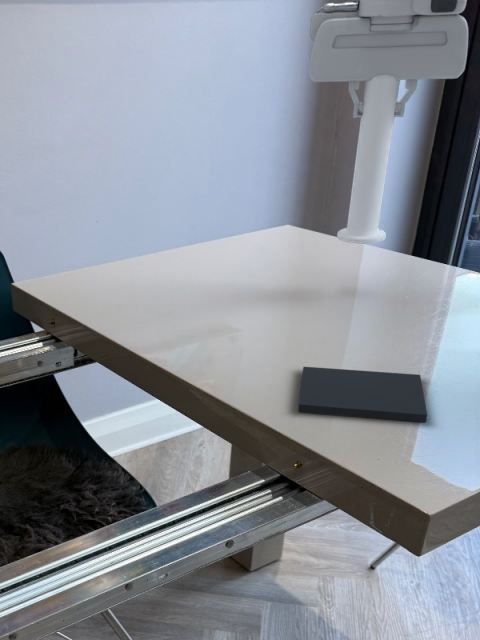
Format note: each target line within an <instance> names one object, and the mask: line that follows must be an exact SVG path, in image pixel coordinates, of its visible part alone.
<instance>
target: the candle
mask: <svg viewBox="0 0 480 640" xmlns="http://www.w3.org/2000/svg"><path fill="white" fill-rule="evenodd" d="M400 84H401V80H396V79H395V77H393V76H391V75H379V76H376V77H374V78H373V79H372V80H370V81H365V83H364V91H363V97H362V98H363V99H362V102H363V104H364V110H363V116H362V117H360V123H359V130H358V139H357V146H356V154H355V161H354V162H355V163H354V170H353V177H352V186H351V192H350V201H349V209H348V216H347V224H346V227H344V228H341V229H340V230H338V231H337V234H336V237H337V239H338V240H339V241H342V242H345V243H348V244H356V245H368V244H369V245H370V244H377V243H380V242H383V241H385V240H386V237H387V233H386V231H384V230H383V229H381V228H379V225H380V219H381V218H380V217H381V212H382V205H383V197H384V191H385V185H386V177H387V170H388V164H389V157H390V150H391V145H392V137H393V131H394V124H395V118H396V117H394V112H395V105H396V103H397V102H398V97H399V92H400V91H399V90H400Z"/></svg>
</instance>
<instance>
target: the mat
mask: <svg viewBox="0 0 480 640" xmlns="http://www.w3.org/2000/svg"><path fill="white" fill-rule="evenodd" d="M300 384H301V385H300V392H299V401H298V409H297V411H298V413H308V414H309V413H310V414H320V415H332V416H333V415H334V416H342V417H343V416H344V417H357V418H367V419H379V420H391V421H402V422H403V421H405V422H415V423H416V422H417V423H426V422H427V419H428V418H427V417H428V412H427V407H426V406H427V405H426V400H425V395H424V389H423V384H422V377H421V374H418V373H417V374H416V373H401V372H389V371H373V370H359V369H345V368H331V367H316V366H303V367H302V376H301V383H300Z"/></svg>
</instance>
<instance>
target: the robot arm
mask: <svg viewBox="0 0 480 640" xmlns="http://www.w3.org/2000/svg"><path fill="white" fill-rule="evenodd" d="M467 2H468V0H358V1H357V0H356V1H345V2H338V3H336V2H325V3H324V4H323V6H321V7H319V8H317V9H316V10H314V13H313V14H312V16H311V19H310V28H309V29H310V30H309V35H310V39H311V40H312V41H313V46H312V51H311V55H310V61H309V68H308V77H309V78H310V80H311V81H312V82H313V83H327V82H328V83H330V82H331V83H332V82H333V83H335V82H348V89H347V91H348V93H349V95H350V98H351V100H352V102H353V112H352V113H353V115H352V118H355V119H356V118H359V119H360V118H361V117H362V116H363V110H364V104H363V101H360V99H359V97H358V94H357V92H356V91H358V90H360V84H361V82H366V81H370V80H372V79H373V78H374V77H376V76H379V75H391V76H393V77H395V79H396V80H400V81H405V82H404V87H405V89H406V91H405V92H404V93H403V96H402V97H401V99H400V100H399V101H397V103H396V105H395V112H394V117H395V118H404V114H405V109H406V104H407V103H408V101H410V99H411V97H412V96H413V95H414V93H415V91H416V90H417V86H418V81H419V80H454V79H458V78H459V77H460V76H461V75H462V74H463V73H464V72H465V70H466V65H467V57H468V48H469V25H468V22H467V20H466V18H465V17H464V16H462V15H460V14H461V13H463V12H464V11H465V9H466V7H467Z"/></svg>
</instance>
